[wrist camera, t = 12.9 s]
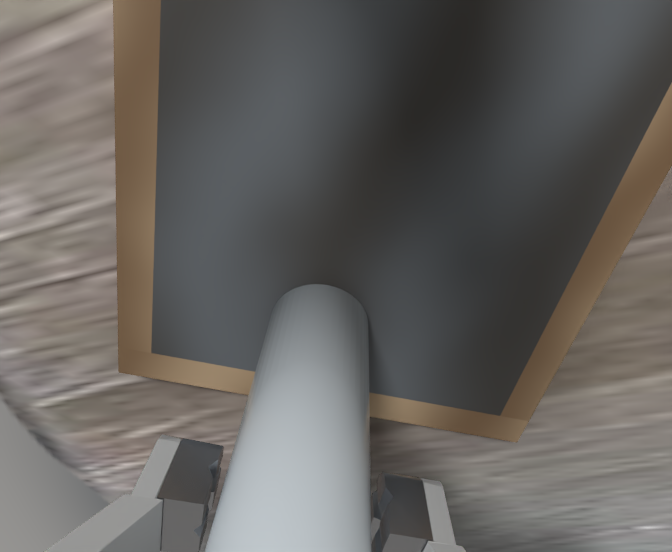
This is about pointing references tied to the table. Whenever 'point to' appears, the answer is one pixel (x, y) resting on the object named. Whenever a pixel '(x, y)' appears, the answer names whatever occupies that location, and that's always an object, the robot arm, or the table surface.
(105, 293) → the table surface
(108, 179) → the table surface
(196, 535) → the robot arm
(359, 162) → the slate board
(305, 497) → the chalk
